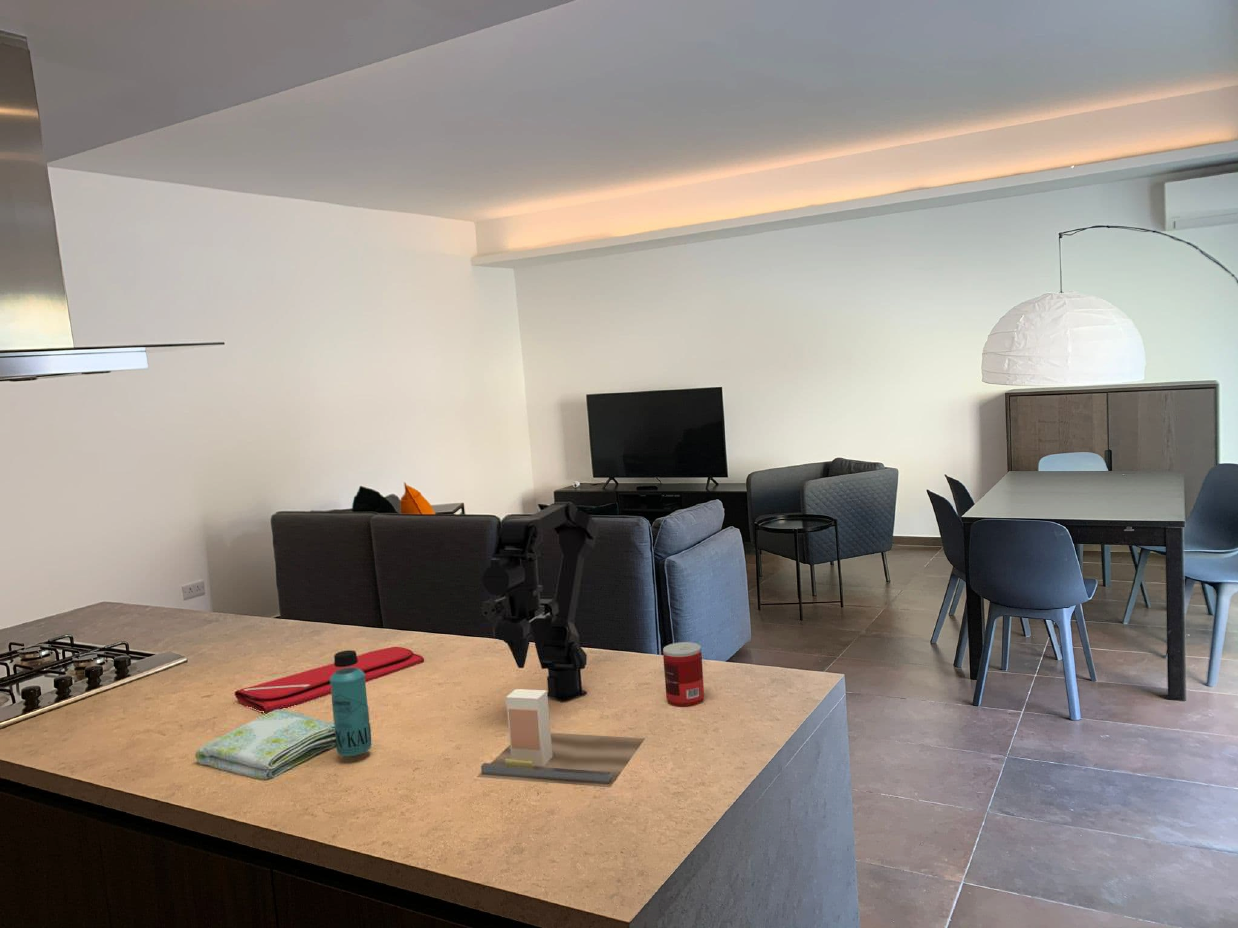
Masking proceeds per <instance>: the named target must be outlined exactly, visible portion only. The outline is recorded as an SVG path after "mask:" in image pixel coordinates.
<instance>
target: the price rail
mask: <svg viewBox="0 0 1238 928" xmlns="http://www.w3.org/2000/svg"><path fill="white" fill-rule="evenodd" d="M481 772H482V775H495V776H508V777H521V778H534V779H547V780H560V781H573V782H586V783H599V784H610V783H611V781H612V778H611V772H602V771H588V770H574V769H561V768H547V767H533V761H532V760H518V759H505V764H491V762H490V763H489V762H484V763H482V764H481V766H480V773H481Z"/></svg>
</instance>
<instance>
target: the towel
mask: <svg viewBox="0 0 1238 928" xmlns="http://www.w3.org/2000/svg"><path fill="white" fill-rule="evenodd" d="M333 723H334V722H333V721H326V720H321V719H318V718H314V717H311V716H307V715H304V714H302V713H297V712H294V711H291V710H287V709H284V710H280V709H277V710H274V711H272V712H269V713H267V714H265V715H264V714H263V715H261V716H259V717H257V718H255V719H253V720H251V721H249V722H248V723H245V724H244V725H241V726H239V727H237V728H235V729H233V730H231V731H229V732H227V733H225V734H223V735H221V736H219V737H217V738H215V739H213V740H211V741H210V742H207V743H205V744H204V745H202V746H201V747H199V748H198V749H196V751H195V753H194V757H195V759H196V761H197V762H198V763H199V764H200V765H202V766H205V765H206V766H210V767H211V768H215V769H218V770H221V771H226V772H230V773H232V774H233V773H234V774H237V775H242V776H246V777H249V778H253V779H258V780H269V779H271V778H273V779H274V778H276V777H277V776H280V775H281V774H283V773H285V772H286V771H288V770H290V769H291V768H293V767H296V766H297V765H300V764H301V763H304V762H305V761H307V760H309V759H310V758H311V759H312V757H314V756H315V755H317V754H319V753H321V752H323V751H325V750H330V749H333V748H336V743H335V739H336V736H335V735H334V733H335V726H334V724H333Z"/></svg>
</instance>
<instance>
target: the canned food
mask: <svg viewBox="0 0 1238 928" xmlns="http://www.w3.org/2000/svg"><path fill="white" fill-rule="evenodd" d="M662 649H663V650H662V656H663V668H664V669H663V670H664V671H663V673H664V683H665V686H664V687H665V697H666V701H667V702H668V704H670V705H672V706H675V707H680V708H681V707H683V708H684V707H685V708H686V707H692V706H696V705H698V704H701V703H702V702H703V700H704V697H705V687H704V674H703V673H704V670H703V669H704V668H703V657H702V656H703V655H702V647H701V645H700V644H699V643H695V642H691V641H690V642H689V641H682V642H673V643H670V644H668V645H665V646H664V647H663V648H662Z"/></svg>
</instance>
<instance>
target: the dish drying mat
mask: <svg viewBox="0 0 1238 928" xmlns="http://www.w3.org/2000/svg"><path fill="white" fill-rule="evenodd" d="M357 659H358V662H357V663H356V664H354V665H351V666H347V667H356V668H358V669H360V670H362V671H363V672H364V673H365V683H368V682H371V681H374V680H377V679H379V678H383V677H385V676H388V675H390V674H394V673H396V672H399V671H402V670H405V669H407V668H411V667H414V666H416V665H419V664H422V663H425V658H424V657H423V655H420V654H418V653H414V652H413V650H411V649H408V648H405V647H401V646H391V647H386V648H385V647H384V648H381V649H375V650H371V651H369V652H366V653H363V654H360V655H357ZM347 667H336V666H335V665H334V663H330V664H327V665H322V666H319V667H315V668H312V669H309V670H304V671H302V672H299V673H294V674H291V675H288V676H283V677H280V678H277V679H273V680H270V681H266V682H262V683H259V684H255V685H252V686H247V687H244V688H240V689H237V690H235V692H234V696H235V699H237V701H238V702H239V703H240V704H241V705H242V704H243V706H244V705H246V706H248V707H252V708H254V709H256V710H259V711H264V713H265V714H267V713H269V712H272V711H274V710H277V709H280V710H281V709H283V708H287V709H289V708H288V707H290V708H292V707H291V706H293V707H295V706H294V705H296V706H298V704H299V705H302V704H305V703H308V702H311V701H314V700H317V699H320V698H323V697H326V696H329V695H332V693H331V683H330V677H331V676H332V675H333V674H334V672H335V671H337V670H339V669H342V668H347ZM373 679H374V680H373ZM328 694H329V695H328ZM319 697H320V698H319ZM313 699H314V700H313ZM307 701H308V702H307ZM304 702H305V703H304ZM246 706H245V707H246ZM248 707H247V708H248ZM256 710H255V711H256Z"/></svg>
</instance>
